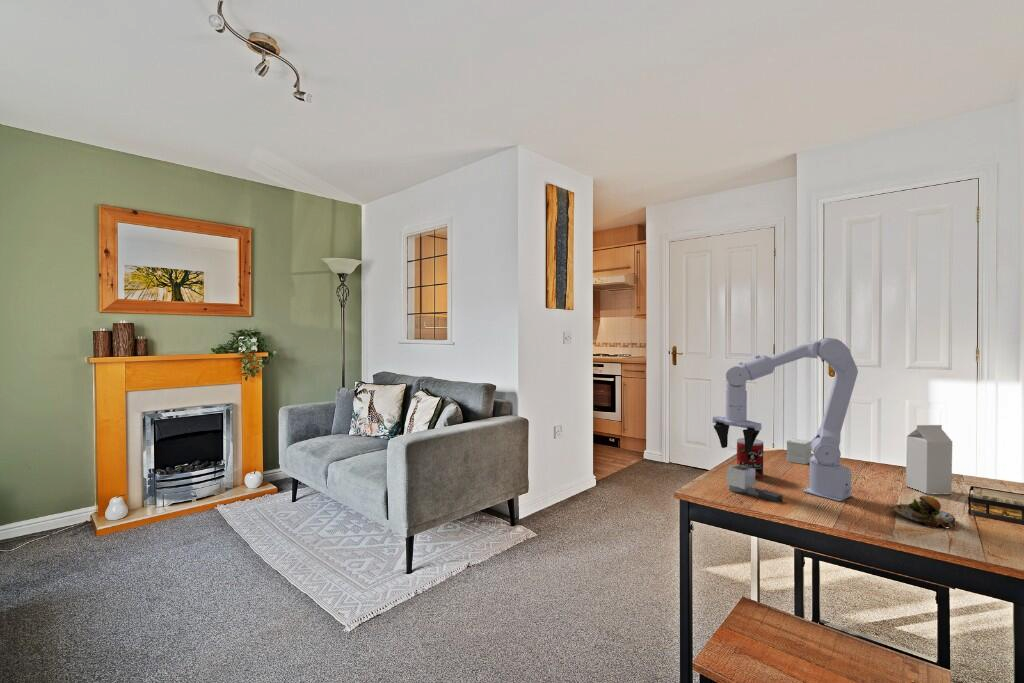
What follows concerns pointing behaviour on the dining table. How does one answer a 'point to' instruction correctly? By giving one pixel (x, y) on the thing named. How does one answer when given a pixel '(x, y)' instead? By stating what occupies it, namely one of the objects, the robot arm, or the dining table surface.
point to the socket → (741, 476)
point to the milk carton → (929, 460)
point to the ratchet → (758, 493)
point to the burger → (926, 512)
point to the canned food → (751, 456)
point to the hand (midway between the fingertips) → (735, 450)
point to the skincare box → (798, 451)
